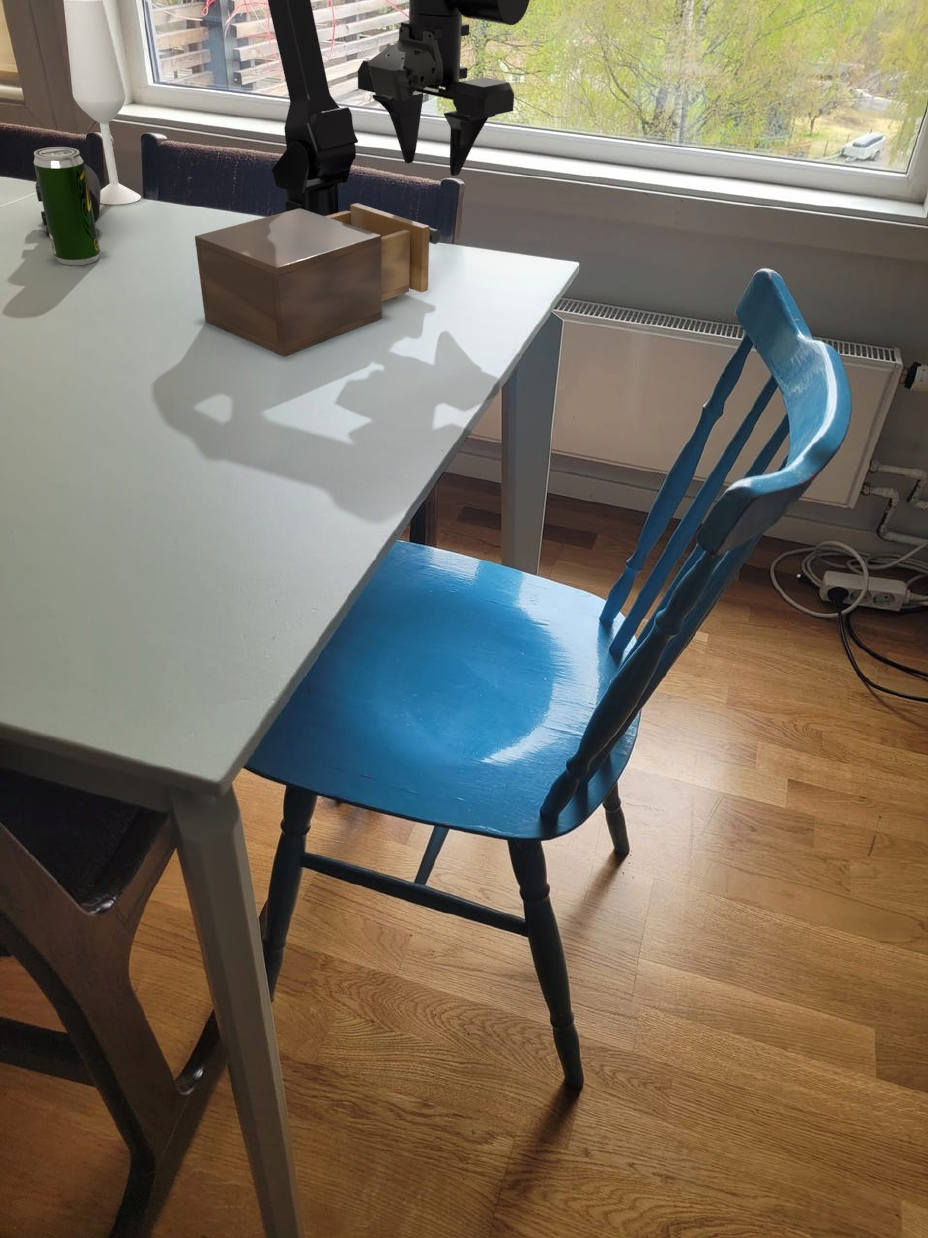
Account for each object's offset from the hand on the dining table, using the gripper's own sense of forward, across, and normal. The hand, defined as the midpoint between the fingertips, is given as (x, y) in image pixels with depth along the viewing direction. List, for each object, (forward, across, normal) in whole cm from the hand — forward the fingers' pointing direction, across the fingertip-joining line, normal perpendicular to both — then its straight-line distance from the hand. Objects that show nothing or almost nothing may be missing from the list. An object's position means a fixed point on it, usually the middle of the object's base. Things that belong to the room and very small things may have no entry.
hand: (431, 168), depth 112 cm
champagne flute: (+12, -50, -10) cm, 53 cm away
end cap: (+12, -43, -22) cm, 50 cm away
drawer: (+11, 0, -11) cm, 16 cm away
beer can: (+12, -32, -28) cm, 45 cm away
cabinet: (+12, 0, -22) cm, 25 cm away
